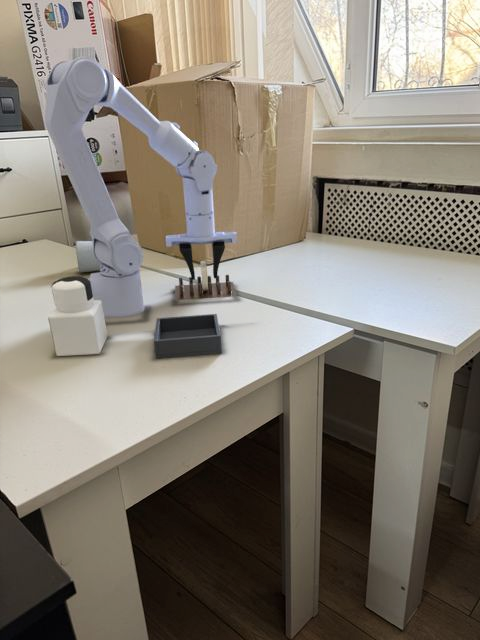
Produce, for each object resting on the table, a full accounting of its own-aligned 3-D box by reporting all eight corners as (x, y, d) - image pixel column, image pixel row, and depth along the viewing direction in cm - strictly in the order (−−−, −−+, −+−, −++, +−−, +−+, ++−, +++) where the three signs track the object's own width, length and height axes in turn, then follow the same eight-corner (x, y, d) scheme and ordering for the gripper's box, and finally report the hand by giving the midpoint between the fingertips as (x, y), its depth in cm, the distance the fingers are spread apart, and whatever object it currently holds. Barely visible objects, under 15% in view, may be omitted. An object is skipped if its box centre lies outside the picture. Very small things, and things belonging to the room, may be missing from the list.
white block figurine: (67, 339, 90) (53, 274, 85) (108, 337, 90) (97, 272, 85) (55, 357, 84) (40, 287, 78) (99, 354, 84) (87, 285, 79)
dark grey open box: (156, 358, 82) (153, 341, 81) (158, 334, 91) (156, 318, 90) (221, 353, 83) (220, 336, 82) (217, 329, 93) (216, 313, 91)
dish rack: (175, 304, 105) (173, 289, 104) (175, 289, 114) (174, 275, 113) (237, 300, 107) (236, 285, 105) (233, 286, 116) (232, 271, 114)
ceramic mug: (113, 272, 127) (109, 242, 123) (79, 275, 125) (74, 245, 121) (112, 262, 136) (107, 233, 132) (79, 265, 133) (74, 236, 130)
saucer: (203, 295, 107) (200, 266, 104) (201, 286, 113) (199, 258, 110) (208, 295, 107) (206, 265, 104) (207, 285, 113) (205, 257, 110)
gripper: (233, 208, 107) (236, 270, 113) (164, 211, 106) (170, 274, 111) (236, 213, 101) (239, 279, 107) (162, 217, 99) (169, 284, 105)
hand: (204, 277), depth 109 cm, fingers open, 4 cm apart
